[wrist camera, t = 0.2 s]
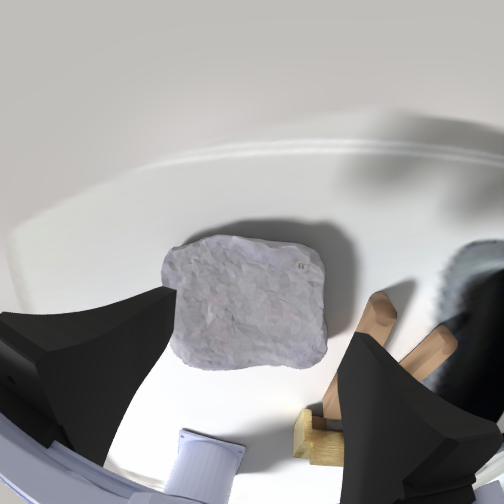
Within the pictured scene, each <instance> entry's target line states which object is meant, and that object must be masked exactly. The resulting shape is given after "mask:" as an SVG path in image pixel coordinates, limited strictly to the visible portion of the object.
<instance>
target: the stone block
mask: <svg viewBox="0 0 504 504" xmlns="http://www.w3.org/2000/svg"><path fill="white" fill-rule="evenodd" d="M325 276H326V272H325V267H324V264H323V262H322V260H321V258H320V255H319V253H318V252H317V251H315V250H314V249H311V248H309V247H307V246H305V245H302V244H297V243H289V242H277V241H266V240H263V239H259V238H245V237H240V236H230V235H213V236H211V237H210V236H209V237H204V238H202V239H200V240H198V241H196V242H194V243H191V244H187V245H183V246H180V247H173V248H172V249H170V250H169V251H168V253H167V255H166V256H165V259H164V261H163V264H162V270H161V277H162V278H161V280H162V286H165V287H168V288H172V289H175V290H177V297H176V308H175V321H174V332H173V334H172V336H171V338H170V340H169V341H170V345H171V348H172V350H173V352H174V354H175V355H176V356H177V357H179V358H180V359H182V360H183V363H184V364H187V365H189V366H190V367H194V368H200V369H202V370H213V371H216V370H236V369H243V368H248V367H253V366H262V365H270V366H281V365H284V366H288V367H292V368H296V369H306V368H311V367H312V366H314V365H315V364H317V363H318V362H320V361H321V359H322V358H323V357H324V355H325V354H326V352H327V349H328V348H327V336H328V332H327V326H326V323H325V321H324V317H323V309H324V297H323V293H324V284H325Z"/></svg>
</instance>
